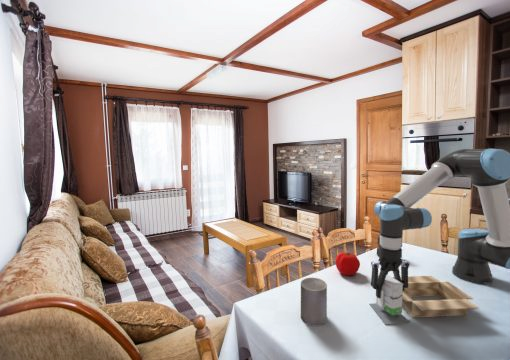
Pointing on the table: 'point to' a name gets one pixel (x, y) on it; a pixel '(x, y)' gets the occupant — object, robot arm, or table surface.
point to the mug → (378, 245)
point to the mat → (389, 316)
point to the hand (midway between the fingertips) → (388, 304)
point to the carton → (430, 286)
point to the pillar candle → (313, 301)
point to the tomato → (347, 263)
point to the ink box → (392, 295)
